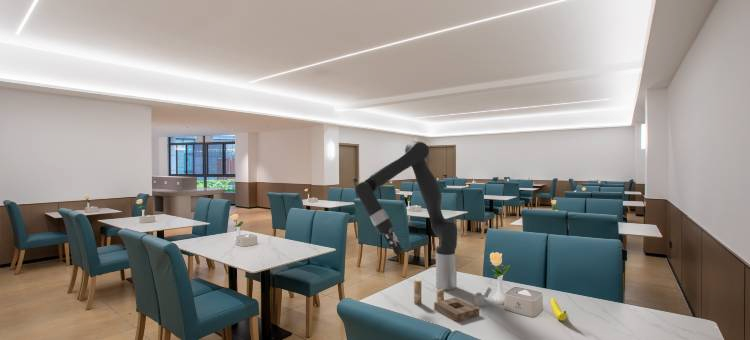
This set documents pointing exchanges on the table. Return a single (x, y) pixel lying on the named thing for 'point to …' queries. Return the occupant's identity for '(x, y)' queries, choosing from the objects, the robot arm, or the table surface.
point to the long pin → (417, 291)
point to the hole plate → (456, 309)
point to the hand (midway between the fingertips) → (400, 252)
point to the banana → (558, 310)
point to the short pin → (440, 294)
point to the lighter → (481, 297)
